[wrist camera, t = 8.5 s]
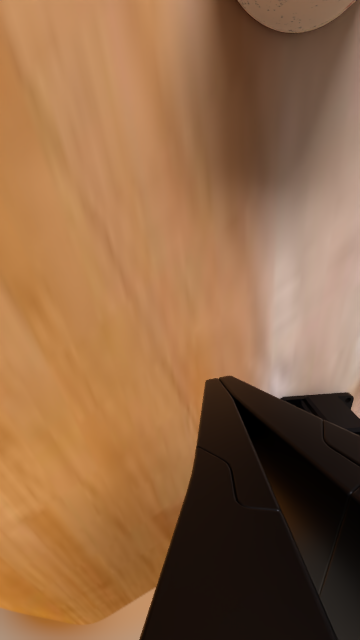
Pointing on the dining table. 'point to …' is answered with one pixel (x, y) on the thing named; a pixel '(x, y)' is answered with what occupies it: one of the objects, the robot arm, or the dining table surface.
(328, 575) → the robot arm
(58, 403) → the dining table surface
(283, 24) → the teacup with lid
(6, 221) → the dining table surface
